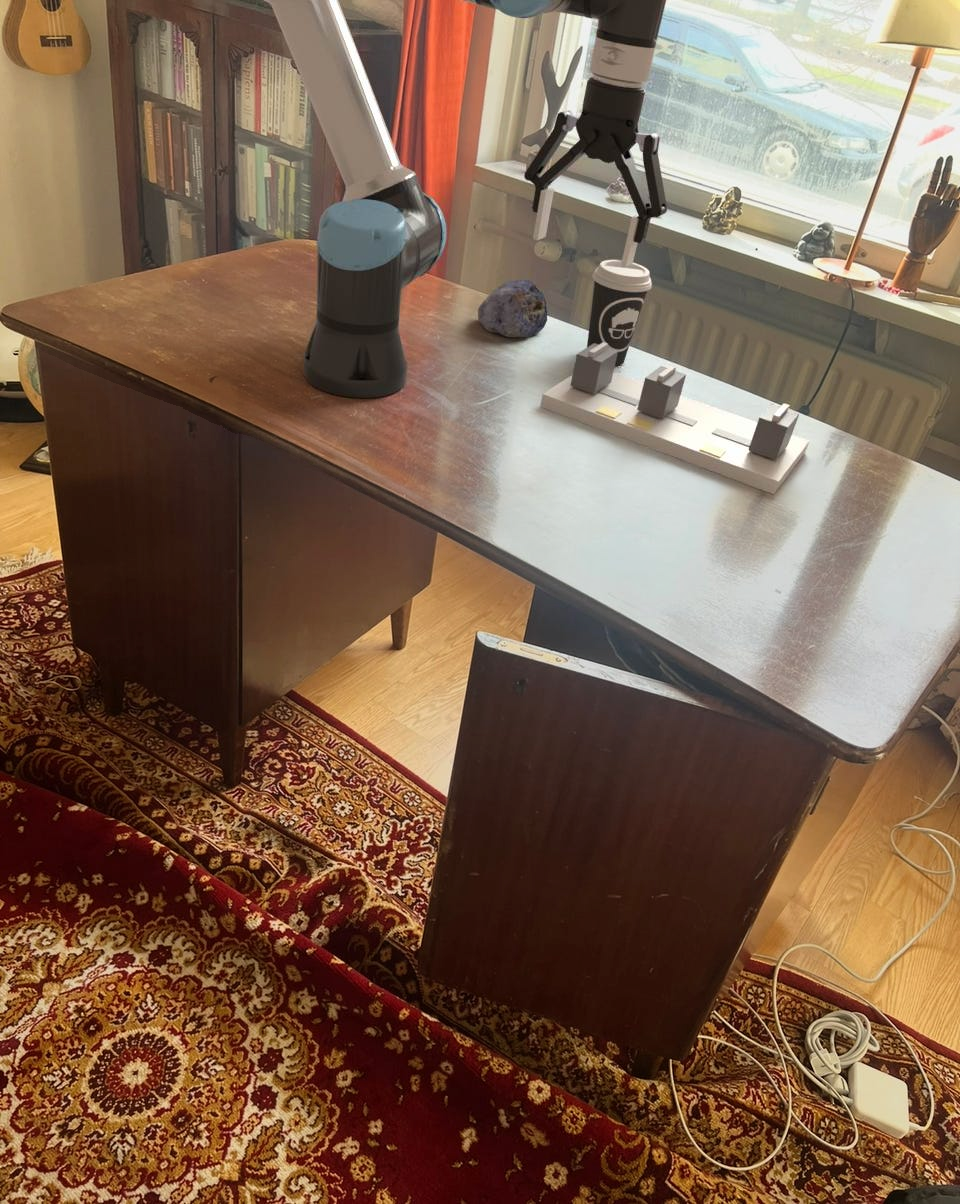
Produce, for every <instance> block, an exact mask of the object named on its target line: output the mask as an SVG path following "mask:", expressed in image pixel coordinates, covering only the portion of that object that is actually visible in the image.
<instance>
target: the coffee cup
mask: <svg viewBox="0 0 960 1204" xmlns="http://www.w3.org/2000/svg"><path fill="white" fill-rule="evenodd" d="M621 262H622V259H606V260H603V261H601V262H600V264H599V265H598V267H597V268H595V269H594V271H593V273H592V275H591V276H592V279H593V281H594V284H593V291H592V292H593V293H592V300H591V301H592V302H591V309H590V318H589V326H588V335H587V342H586V348H587V347H589V346H590V345H592V344H594V343H595V344H598V345H600V344H601V343H603V342H605V343H608V347H607V348H610V349H613V350H616V351H618V354H617V358H616V363H615V367H618V366H622V365H623V364H624V363H625V361H626V358H627V354H628V351H629V348H630V345H631V342H632V338H633V336H634V332H635V329H636V326H637V323H638V320H639V317H640V314H641V311H642V308H643V305H644V302H645V299H646V296H647V293H648V291H650V290H651V289H652V287H653V285H652V284H653V283H652V278H651V277H650V275H651V274H650V270H649V269H648V268H646V267H645V266H643V265H640V264H639V263H635V262H633V264H631V265H629V266H627V267H626V268H625V267H622V266H621Z"/></svg>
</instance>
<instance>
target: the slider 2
mask: <svg viewBox="0 0 960 1204" xmlns="http://www.w3.org/2000/svg"><path fill="white" fill-rule="evenodd" d="M676 369H677V366H675V365H671V364H670V365H669V366H668V367H666V366H662V365H660V366H659V367H657V368H656V369H655V370H654V371H652V372H651V373H649V374H648V375H647V376H645V378H644V385H643V389H642V393H641V397H640V401H639V405H638V409H637V410H639V411H641V412H644V413H647V414H650V415H652V416H655V417H658V418H661V419H663V418H664V417H665V416H667V415H668V414H669V413H670V412H671V411H672V410H674V409H675V408H676V407H677V406H678V402H679V399H680V395H681V396H682V392H683V387H684V384H685V380H686V376H687V374H686V373H683V372H680V371H677V370H676Z"/></svg>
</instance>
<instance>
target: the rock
mask: <svg viewBox="0 0 960 1204" xmlns="http://www.w3.org/2000/svg"><path fill="white" fill-rule="evenodd" d="M546 302H547V301H546V298H545V295H544V293H543V292H542V291H540V289H538V288H537V286H536V285H535V284H534V283H533V282H532V281H530V280H523V279H522V280H515V281H514V280H509V281H508V280H507V281H504V282H503V283H502V285H500V286H498V287H497V288H496V289H494V290H493V291H492V292H491V293H490V294H489V295H488V296H487V297H486V298H485V300H484V301H482V303H481V304H480V305H479V307H478V309H477V319H478V322H480V324H482V327H484V329H485V330H486V331H488V332H491V333H495V334H496V333H498V334H499V335H501V336H504V337H508V338H518V337H519V338H520V337H522V338H529V337H531V336H535V335H537V334H539V333H540V332H541V331H542V330H543V329H544V328H545V327H546V326H545V325H547V322H548V309H547V303H546Z"/></svg>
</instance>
